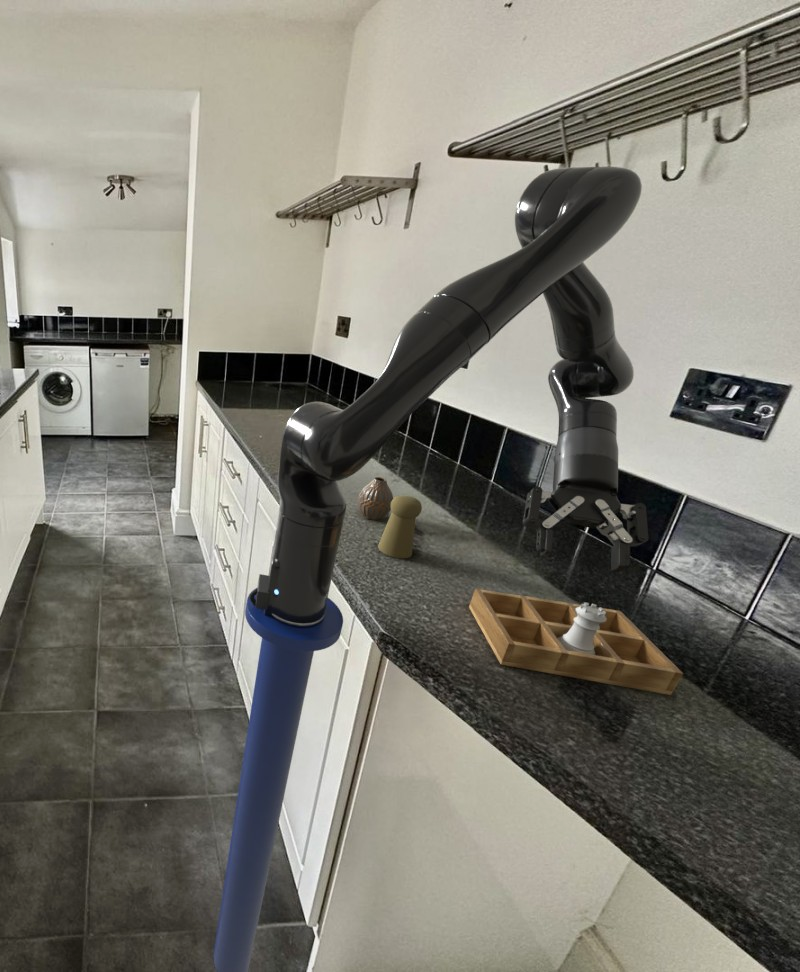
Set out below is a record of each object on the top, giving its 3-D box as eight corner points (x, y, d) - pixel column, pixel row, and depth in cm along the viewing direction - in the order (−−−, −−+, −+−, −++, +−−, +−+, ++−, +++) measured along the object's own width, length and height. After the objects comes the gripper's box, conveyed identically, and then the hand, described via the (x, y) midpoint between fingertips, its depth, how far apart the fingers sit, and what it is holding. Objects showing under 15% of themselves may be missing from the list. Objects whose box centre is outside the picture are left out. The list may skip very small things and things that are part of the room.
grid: (500, 664, 69) (508, 643, 67) (468, 607, 81) (475, 588, 79) (671, 695, 65) (683, 673, 63) (610, 630, 77) (620, 610, 75)
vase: (388, 513, 113) (397, 476, 109) (388, 525, 107) (398, 487, 103) (356, 506, 115) (364, 471, 112) (354, 518, 109) (362, 481, 106)
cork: (409, 561, 93) (424, 508, 89) (375, 552, 96) (388, 499, 92) (413, 548, 98) (427, 496, 94) (380, 539, 101) (392, 489, 97)
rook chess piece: (546, 652, 70) (567, 605, 67) (558, 641, 73) (579, 594, 70) (585, 672, 67) (609, 623, 64) (597, 659, 69) (620, 611, 66)
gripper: (540, 444, 77) (533, 543, 72) (659, 460, 72) (660, 567, 67) (521, 466, 84) (513, 557, 79) (629, 482, 79) (628, 581, 73)
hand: (581, 562), depth 73 cm, fingers open, 8 cm apart
